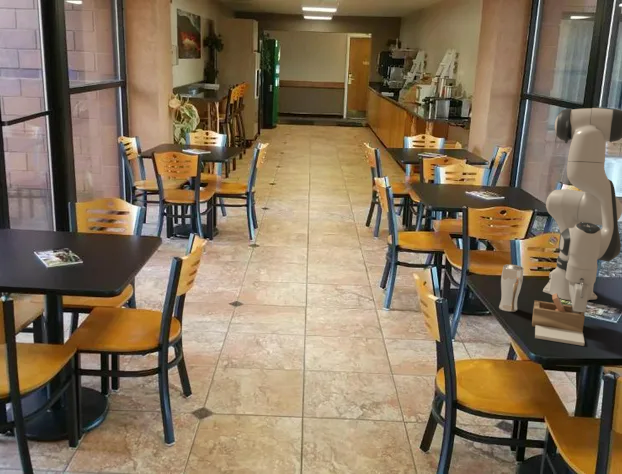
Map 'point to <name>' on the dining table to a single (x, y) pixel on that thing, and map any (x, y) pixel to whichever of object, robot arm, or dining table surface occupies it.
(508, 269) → the beer glass
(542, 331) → the mat
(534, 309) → the pocket block
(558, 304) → the tile
